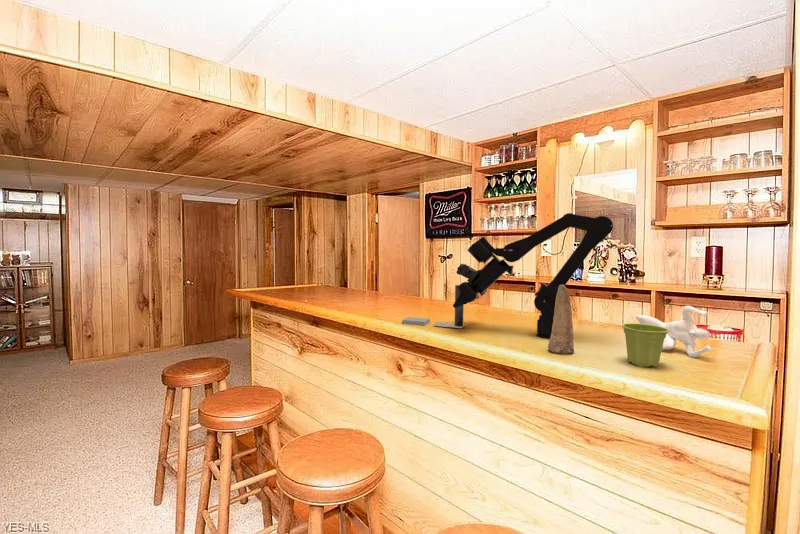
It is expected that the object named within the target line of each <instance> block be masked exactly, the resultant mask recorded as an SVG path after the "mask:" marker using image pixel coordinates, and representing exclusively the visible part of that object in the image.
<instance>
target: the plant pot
mask: <svg viewBox="0 0 800 534" xmlns="http://www.w3.org/2000/svg"><path fill="white" fill-rule="evenodd" d="M621 328H623V333H624V335H625V337H624V338H625V344H626V354H627V355H626V356H627V362H629V363H632V365H634V366H635V365H636V366H639V367H640V366H641V367H645V368H646V367H647V368H649V367H654V368H655V367H658V366H659V364H660V359H661V354H662V347H663V342H664V339H665V338H666V334H667V333H668V332H669V330H668V329H666V328H663V327H659V326H654V325H647V324H640V323H622V324H621Z"/></svg>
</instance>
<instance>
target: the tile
mask: <svg viewBox="0 0 800 534" xmlns="http://www.w3.org/2000/svg"><path fill="white" fill-rule="evenodd" d="M401 324H402V325H409V326H419V327H420V326H421V327H426V326H427V325H428V324H431V319H430V318H428V317H427V318H425V317H424V318H423V317H412V316H408V317H406V318H403V319H402V320H401Z"/></svg>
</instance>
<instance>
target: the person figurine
mask: <svg viewBox="0 0 800 534" xmlns="http://www.w3.org/2000/svg"><path fill="white" fill-rule="evenodd" d="M692 313H695V314H699V316H703V317H708V316H709V311H704V310H701V309H697V308H695V307H693V306H691V305H684V306H683V309H682V312H681V315H682V316H683V319H681V320H674V321H669V322H663V321H661V320H660V319H658V318H656V317H653V316H649V315H646V314H645V315H643V314H637V315H636V317H635V319H636V321H637V322H638V324H647V325H654V326H659V327H663V328H666V329H668V330H669V332H668V333H667V334H666V338H665V339H664V342H663V347H662V350H671V349H673V348H675V347H676V345H677V343H676V342H677V341H679V342H680V343H681V344H683V345H685V349H684V351H685V353H686V354H687V356H688V357H689V358H693V359H695V358H699V356H701V355H702V354H704V353H706V352H710V351H712V347H711V346H710V345H705V347H703V348H701V349H698V350H695V348H696V347H697V344H696V342H695V340H696V339H699V340H707V339H709V338H710V332H709V330H707V329H705V328H702V327H697V325H696V324H695V317H694V316H693V315H692ZM676 340H677V341H676Z"/></svg>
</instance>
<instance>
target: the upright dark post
mask: <svg viewBox="0 0 800 534" xmlns="http://www.w3.org/2000/svg"><path fill="white" fill-rule="evenodd" d="M459 285H460V284H456V285H454V302H455V301H456V300H457V298H458V297H459V295H460V293H461V291H460V289H459V288H458V286H459ZM464 305H465V304H464ZM464 305H461V306H459V307H456V308H454V322H450V321H449V322H447V321H436V322H434V323H432V326H434V327H443V328H444V327H445V328H456V329H462V328H464V327H465V326H466V324H465V323H464Z"/></svg>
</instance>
